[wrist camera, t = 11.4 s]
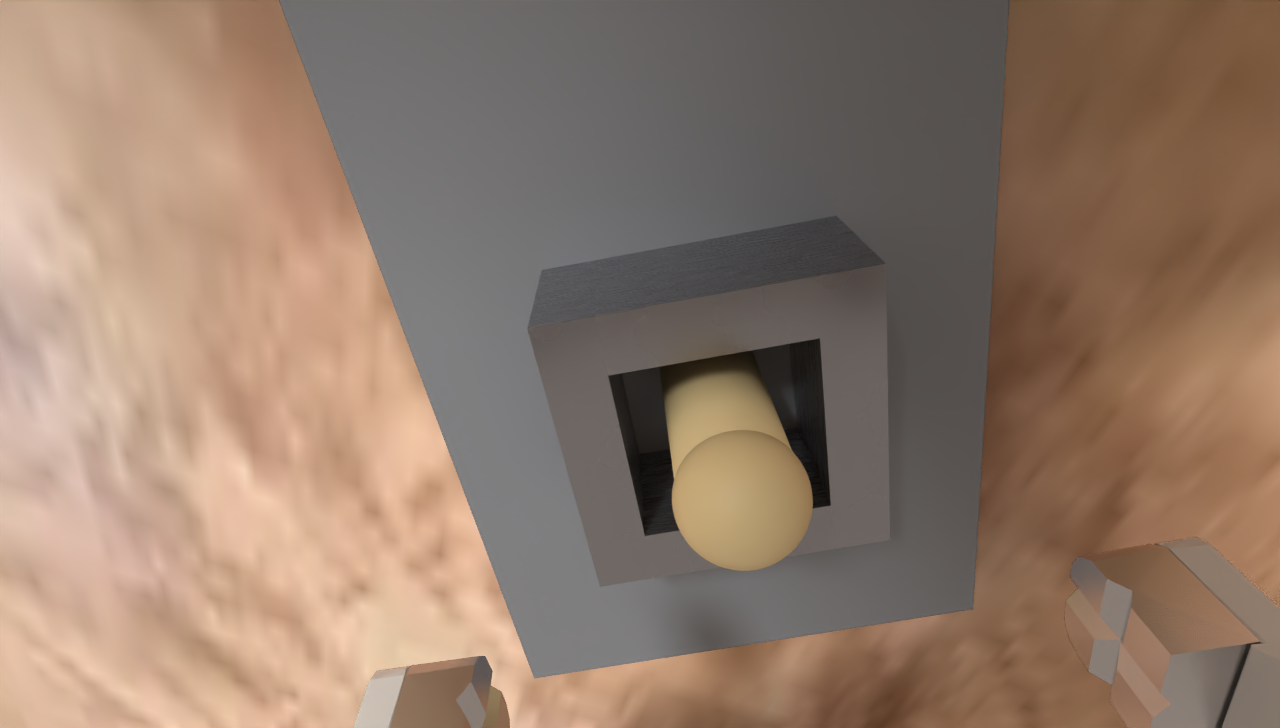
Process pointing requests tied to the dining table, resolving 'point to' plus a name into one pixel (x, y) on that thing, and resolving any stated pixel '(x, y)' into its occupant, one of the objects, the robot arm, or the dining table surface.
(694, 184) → the keeper board
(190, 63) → the dining table surface
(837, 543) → the hollow square frame
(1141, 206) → the dining table surface
